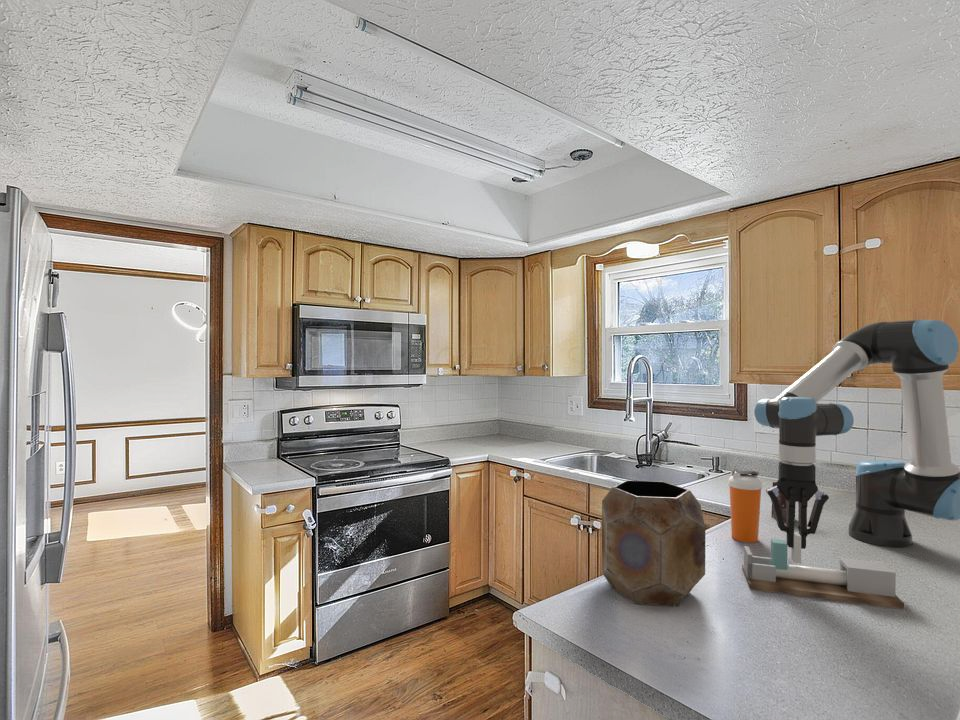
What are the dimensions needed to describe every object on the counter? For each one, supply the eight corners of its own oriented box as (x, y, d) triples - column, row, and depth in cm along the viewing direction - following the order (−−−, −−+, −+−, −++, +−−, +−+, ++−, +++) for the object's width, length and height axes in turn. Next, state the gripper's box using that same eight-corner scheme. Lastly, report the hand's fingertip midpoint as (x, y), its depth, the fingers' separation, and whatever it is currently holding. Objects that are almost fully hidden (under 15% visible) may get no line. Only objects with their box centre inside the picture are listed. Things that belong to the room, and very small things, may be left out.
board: (882, 585, 125) (882, 580, 125) (904, 609, 114) (904, 603, 114) (742, 569, 135) (742, 564, 135) (749, 589, 123) (749, 583, 123)
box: (781, 521, 173) (782, 484, 173) (771, 517, 177) (771, 481, 177) (796, 519, 175) (797, 483, 174) (785, 515, 179) (785, 480, 179)
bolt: (864, 584, 122) (865, 547, 122) (870, 590, 119) (870, 552, 119) (770, 573, 129) (770, 538, 129) (773, 578, 126) (773, 542, 126)
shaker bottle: (765, 544, 152) (766, 475, 152) (732, 542, 154) (733, 474, 153) (756, 534, 161) (756, 468, 160) (724, 532, 162) (725, 467, 162)
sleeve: (884, 585, 122) (885, 562, 122) (895, 596, 117) (895, 572, 117) (839, 580, 125) (839, 557, 125) (847, 591, 120) (848, 567, 120)
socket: (770, 572, 130) (771, 548, 130) (775, 582, 124) (776, 557, 124) (743, 569, 132) (744, 546, 132) (747, 578, 126) (747, 554, 126)
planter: (579, 579, 129) (579, 482, 128) (659, 564, 138) (659, 473, 138) (638, 622, 108) (639, 507, 108) (727, 601, 117) (728, 495, 117)
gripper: (823, 461, 127) (822, 558, 127) (763, 457, 131) (762, 552, 131) (833, 467, 120) (832, 571, 120) (769, 463, 124) (768, 563, 124)
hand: (796, 561), depth 126 cm, fingers closed
